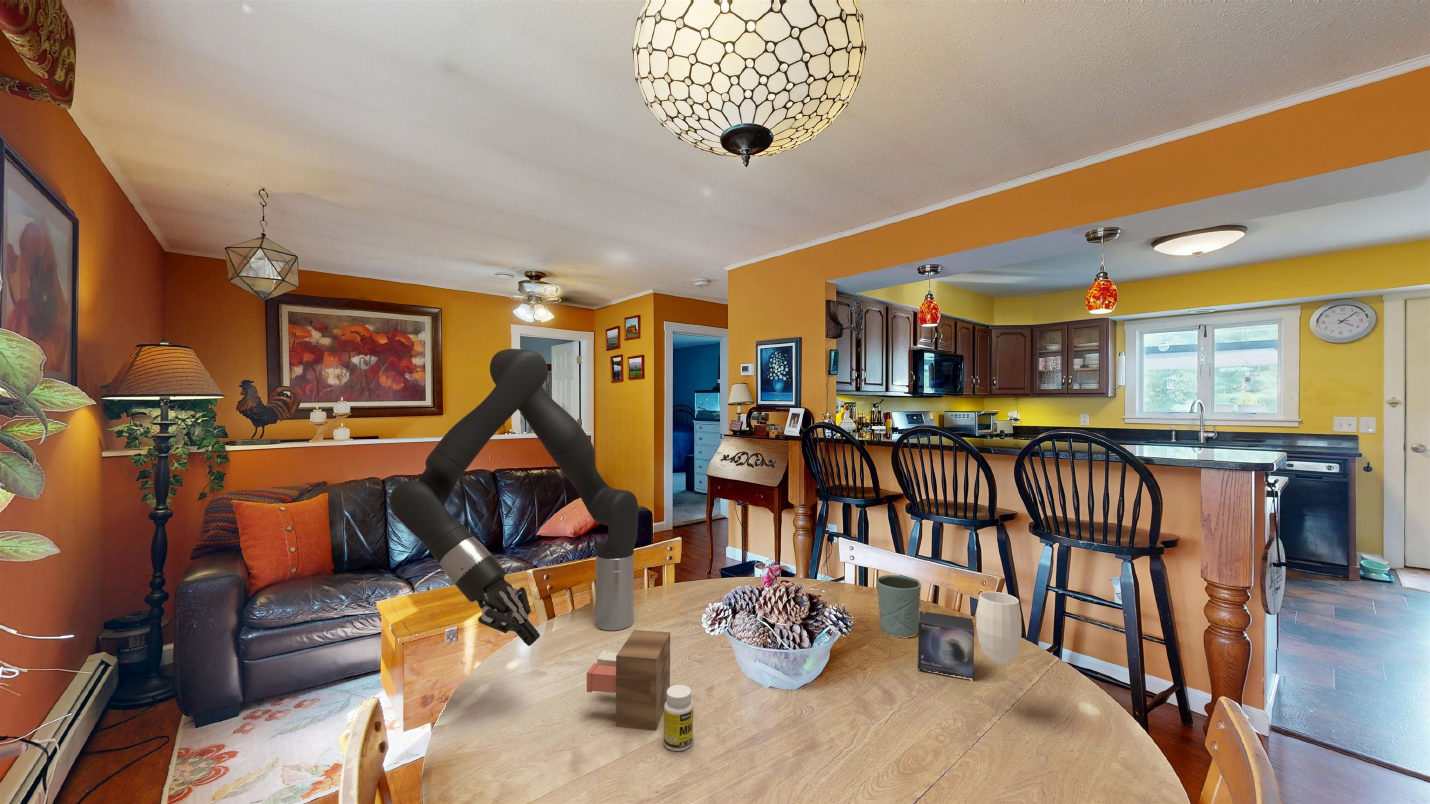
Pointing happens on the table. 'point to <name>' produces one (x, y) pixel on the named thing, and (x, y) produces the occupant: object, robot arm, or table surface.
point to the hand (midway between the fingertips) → (534, 641)
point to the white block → (607, 658)
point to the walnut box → (642, 679)
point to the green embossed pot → (899, 604)
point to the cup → (999, 626)
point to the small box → (946, 644)
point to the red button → (601, 678)
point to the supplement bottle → (678, 718)
